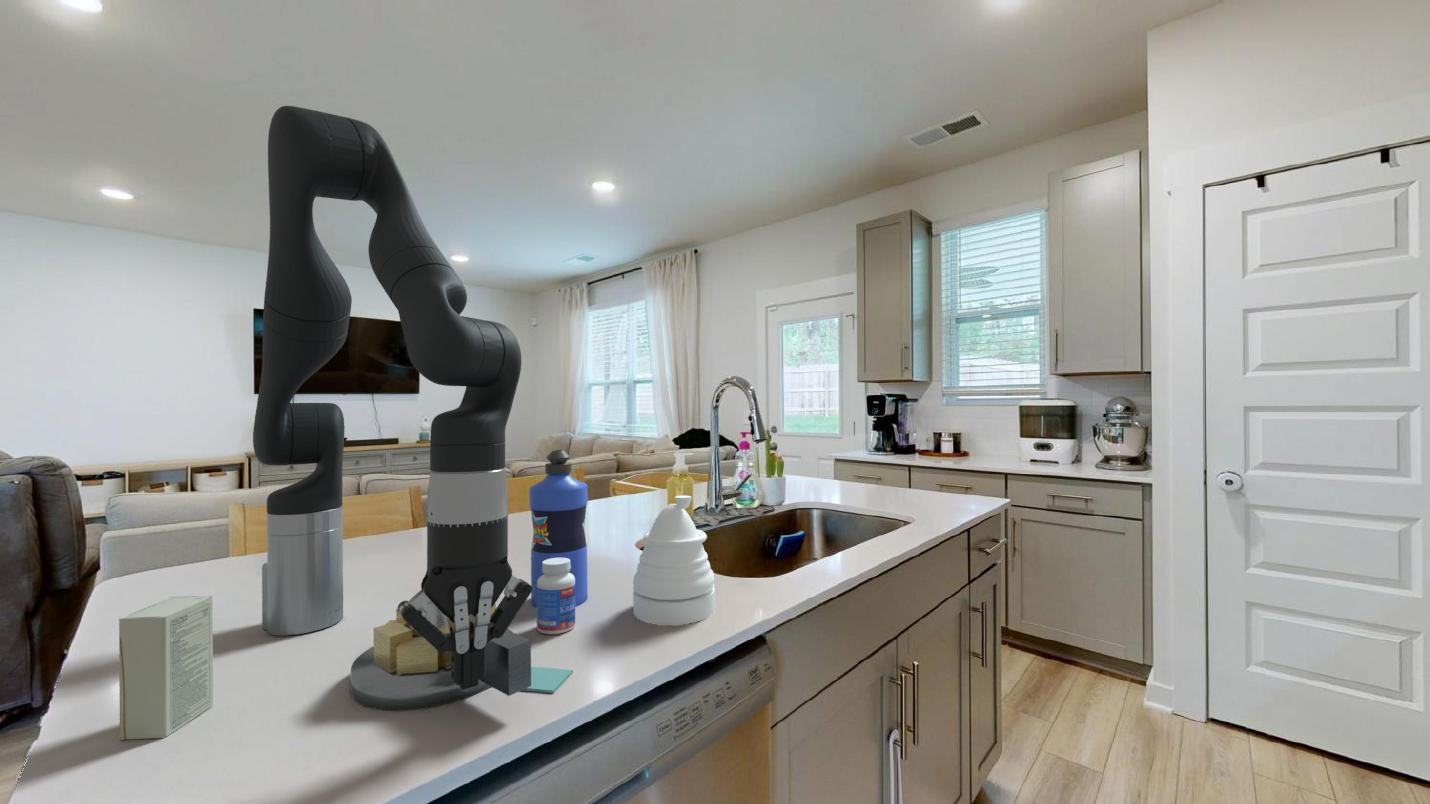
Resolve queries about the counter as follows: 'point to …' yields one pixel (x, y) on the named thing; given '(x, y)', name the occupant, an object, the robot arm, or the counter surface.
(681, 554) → the honey pot
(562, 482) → the blue bottle
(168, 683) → the skincare box
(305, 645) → the counter surface
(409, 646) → the clamp assembly
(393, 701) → the housing
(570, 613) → the pill bottle
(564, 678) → the pad
